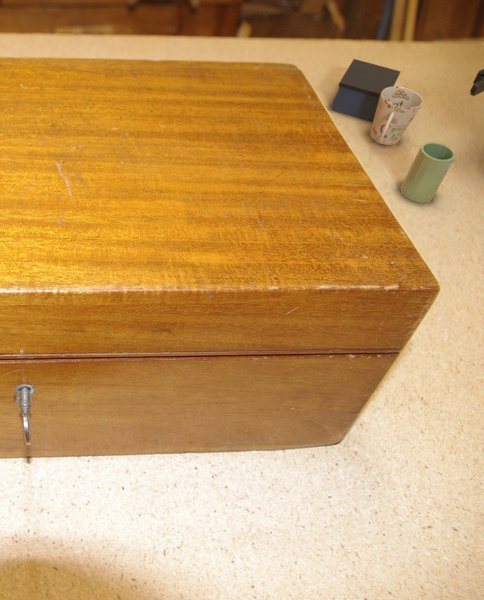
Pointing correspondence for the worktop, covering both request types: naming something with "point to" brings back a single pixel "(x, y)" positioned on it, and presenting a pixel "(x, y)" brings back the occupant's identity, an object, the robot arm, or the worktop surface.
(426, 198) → the cup
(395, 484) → the worktop surface
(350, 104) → the container
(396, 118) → the mug
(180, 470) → the worktop surface
